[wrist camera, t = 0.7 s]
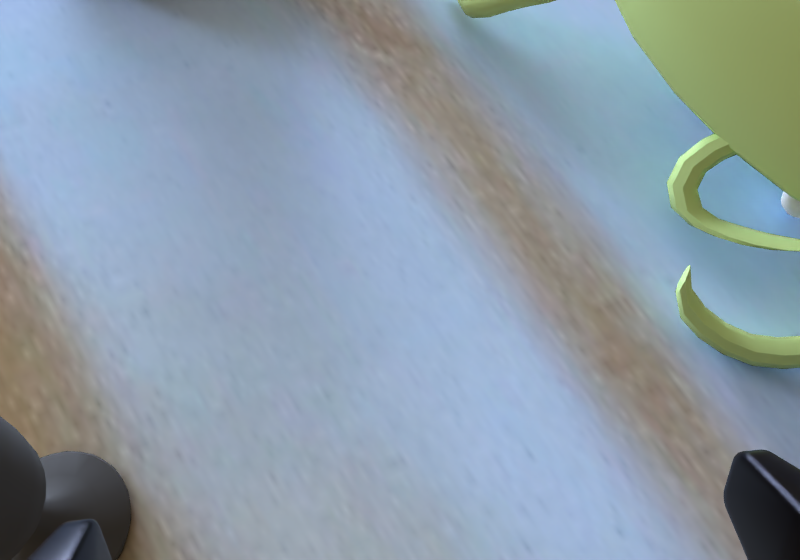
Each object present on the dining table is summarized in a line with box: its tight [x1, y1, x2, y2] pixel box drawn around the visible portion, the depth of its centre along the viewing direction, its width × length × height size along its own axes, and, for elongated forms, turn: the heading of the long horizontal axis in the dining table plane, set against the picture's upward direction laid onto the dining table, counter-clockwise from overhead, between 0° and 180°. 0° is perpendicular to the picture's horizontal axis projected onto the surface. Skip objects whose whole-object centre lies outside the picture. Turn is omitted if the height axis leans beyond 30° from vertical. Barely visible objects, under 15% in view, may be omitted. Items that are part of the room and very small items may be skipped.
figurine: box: [458, 0, 800, 369], centre depth 28 cm, size 18×27×6 cm
